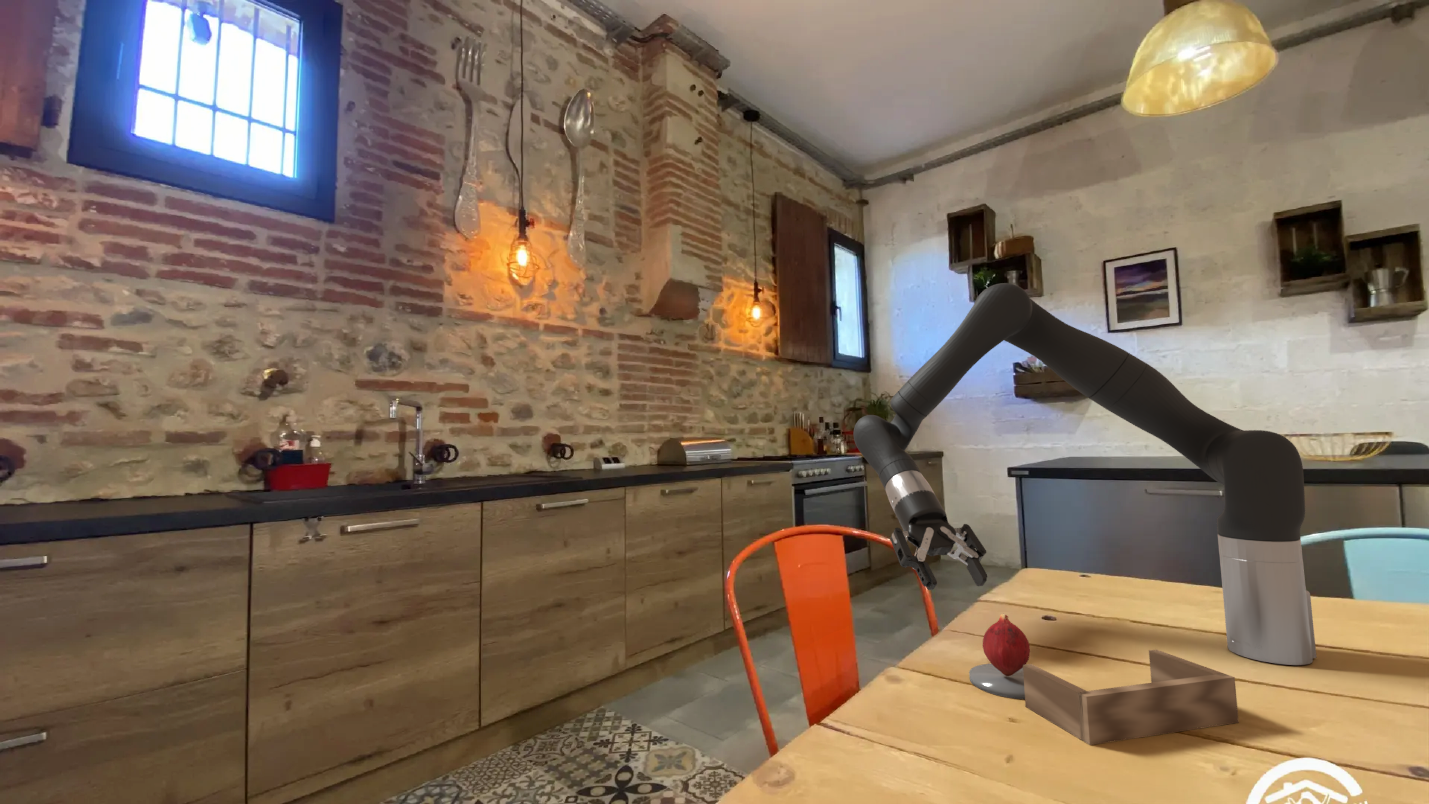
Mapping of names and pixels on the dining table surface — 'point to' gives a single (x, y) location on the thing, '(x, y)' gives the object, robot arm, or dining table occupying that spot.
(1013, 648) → the onion
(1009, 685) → the stone
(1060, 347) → the robot arm
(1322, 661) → the dining table surface
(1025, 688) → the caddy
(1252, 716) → the dining table surface
